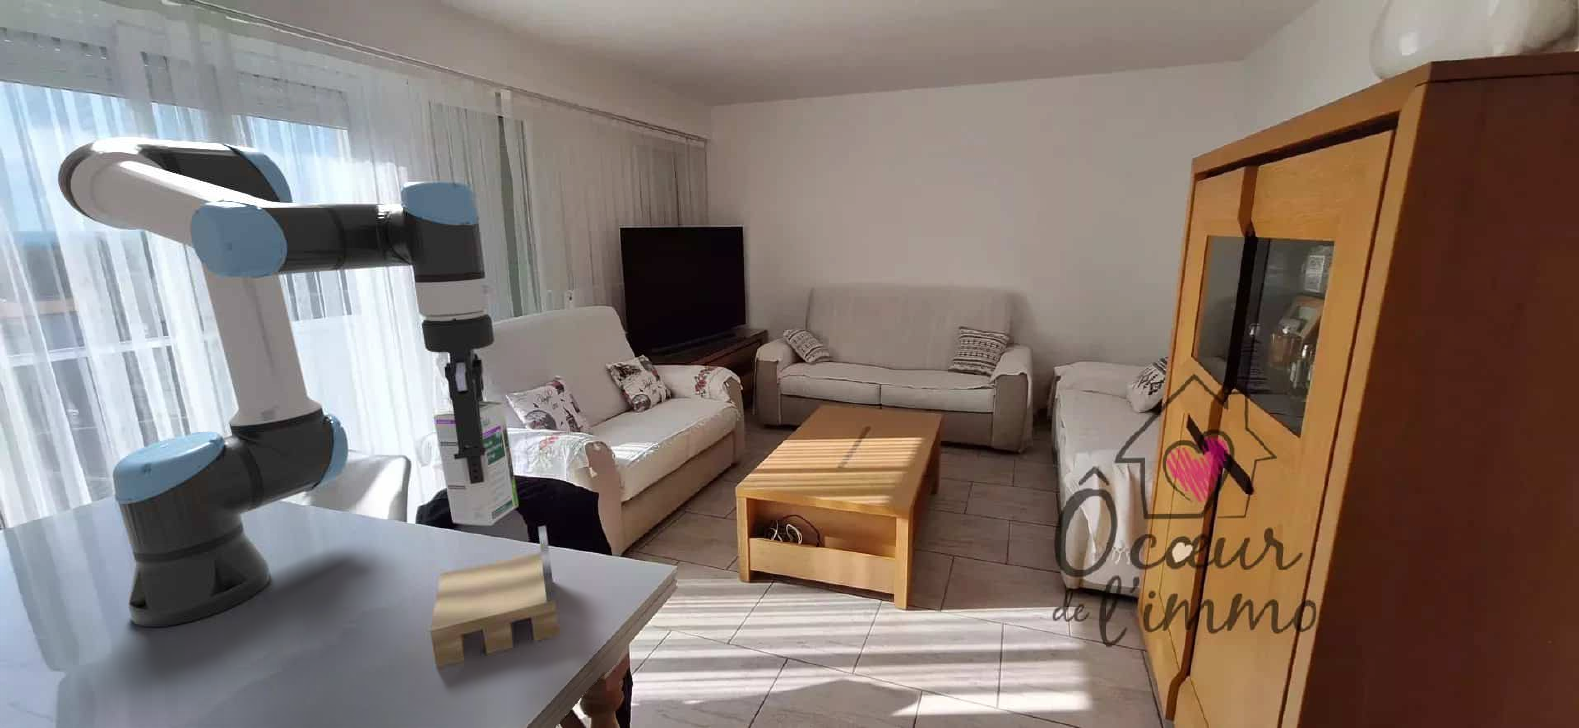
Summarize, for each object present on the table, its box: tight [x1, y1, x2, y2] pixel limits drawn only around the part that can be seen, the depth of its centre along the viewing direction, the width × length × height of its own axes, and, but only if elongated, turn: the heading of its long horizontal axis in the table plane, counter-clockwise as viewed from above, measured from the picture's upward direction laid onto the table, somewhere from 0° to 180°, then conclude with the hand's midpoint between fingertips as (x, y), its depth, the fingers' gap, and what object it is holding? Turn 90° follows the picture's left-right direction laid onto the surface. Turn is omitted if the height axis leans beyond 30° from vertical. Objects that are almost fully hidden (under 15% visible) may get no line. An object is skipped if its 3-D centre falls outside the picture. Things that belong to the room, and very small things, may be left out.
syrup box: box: [433, 400, 519, 527], centre depth 80 cm, size 6×6×14 cm
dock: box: [429, 525, 560, 668], centre depth 84 cm, size 14×14×9 cm
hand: (482, 492), depth 81 cm, fingers closed on syrup box, 8 cm apart
